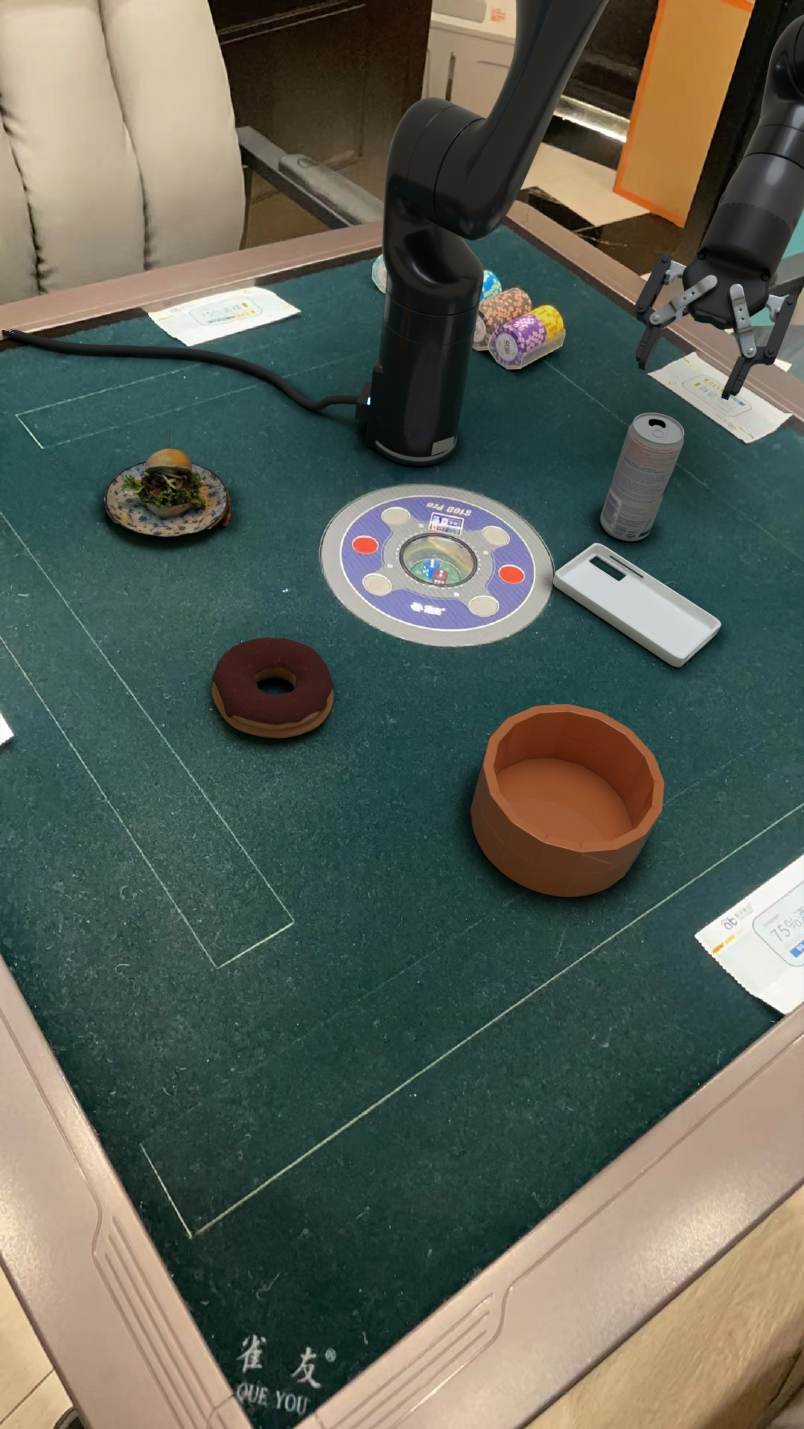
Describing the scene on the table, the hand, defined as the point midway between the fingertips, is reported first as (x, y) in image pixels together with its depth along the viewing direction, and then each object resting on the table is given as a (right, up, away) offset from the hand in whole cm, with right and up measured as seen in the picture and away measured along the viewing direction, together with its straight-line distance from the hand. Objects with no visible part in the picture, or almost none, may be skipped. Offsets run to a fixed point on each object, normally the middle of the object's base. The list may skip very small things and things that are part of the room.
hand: (682, 382), depth 102 cm
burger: (-50, -12, +1) cm, 51 cm away
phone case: (-5, -22, -1) cm, 23 cm away
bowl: (-15, -41, -18) cm, 47 cm away
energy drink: (-4, -13, +7) cm, 15 cm away
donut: (-38, -31, -13) cm, 51 cm away
